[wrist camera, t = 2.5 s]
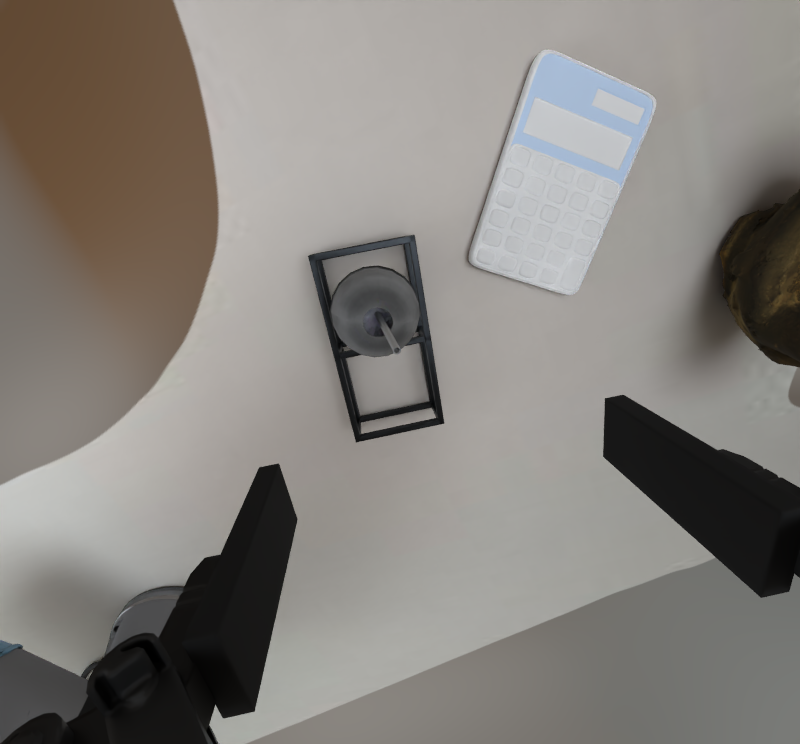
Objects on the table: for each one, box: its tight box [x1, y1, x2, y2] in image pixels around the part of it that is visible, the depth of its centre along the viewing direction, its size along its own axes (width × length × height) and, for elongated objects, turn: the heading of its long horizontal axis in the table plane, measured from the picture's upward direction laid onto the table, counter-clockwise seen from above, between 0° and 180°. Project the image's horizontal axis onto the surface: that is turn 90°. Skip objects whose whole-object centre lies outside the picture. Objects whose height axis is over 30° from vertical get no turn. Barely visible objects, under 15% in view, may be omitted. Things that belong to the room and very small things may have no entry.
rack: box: [308, 235, 444, 442], centre depth 40 cm, size 10×20×5 cm, turn 11°
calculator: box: [468, 49, 656, 295], centre depth 38 cm, size 13×20×2 cm, turn 164°
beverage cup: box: [330, 266, 420, 357], centre depth 31 cm, size 7×7×20 cm
